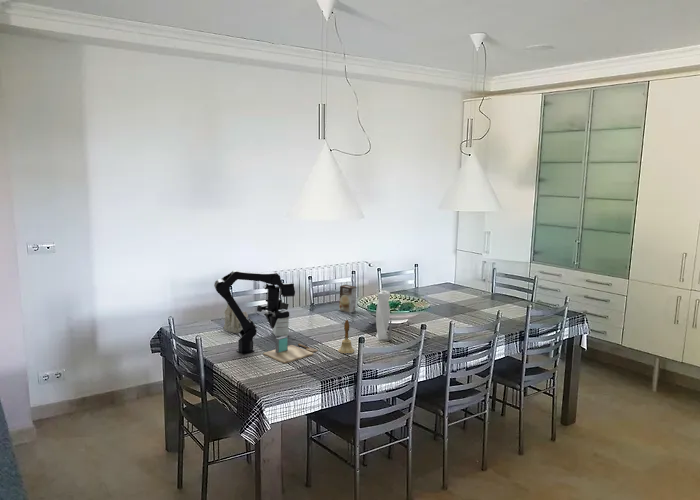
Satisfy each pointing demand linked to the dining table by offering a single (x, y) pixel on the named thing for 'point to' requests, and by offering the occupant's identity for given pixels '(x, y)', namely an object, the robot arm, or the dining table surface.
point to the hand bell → (346, 341)
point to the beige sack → (232, 321)
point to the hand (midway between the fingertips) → (272, 328)
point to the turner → (308, 348)
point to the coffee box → (347, 298)
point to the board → (289, 354)
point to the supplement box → (281, 327)
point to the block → (281, 344)
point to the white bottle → (383, 316)
